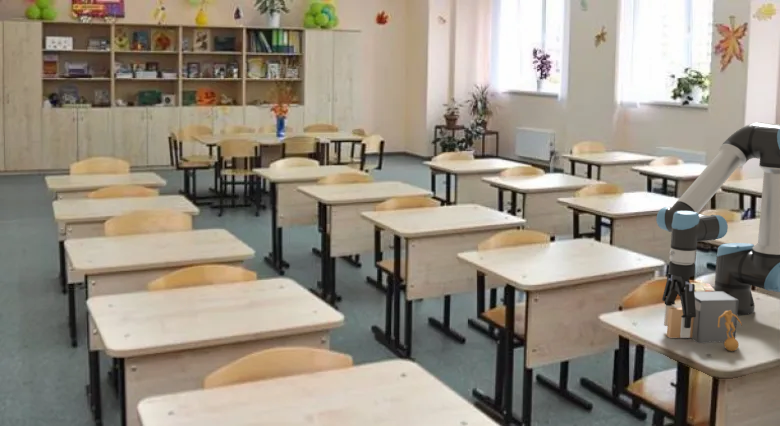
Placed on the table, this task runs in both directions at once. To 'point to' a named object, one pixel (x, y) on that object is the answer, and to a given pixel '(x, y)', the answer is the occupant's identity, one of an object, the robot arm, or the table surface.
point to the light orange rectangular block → (676, 323)
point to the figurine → (729, 343)
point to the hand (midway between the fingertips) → (676, 331)
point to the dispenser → (713, 316)
